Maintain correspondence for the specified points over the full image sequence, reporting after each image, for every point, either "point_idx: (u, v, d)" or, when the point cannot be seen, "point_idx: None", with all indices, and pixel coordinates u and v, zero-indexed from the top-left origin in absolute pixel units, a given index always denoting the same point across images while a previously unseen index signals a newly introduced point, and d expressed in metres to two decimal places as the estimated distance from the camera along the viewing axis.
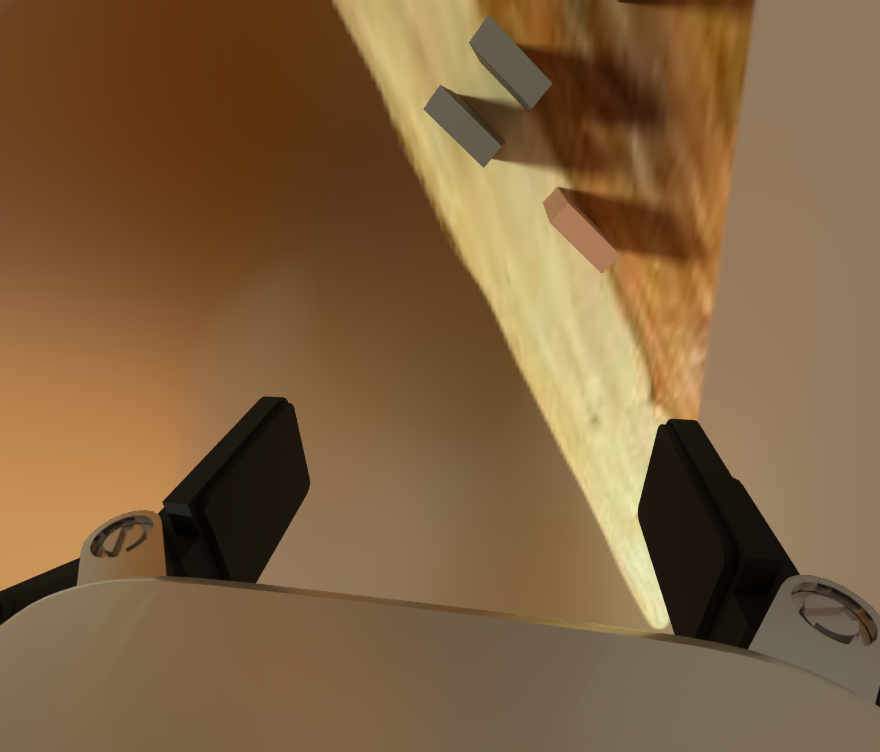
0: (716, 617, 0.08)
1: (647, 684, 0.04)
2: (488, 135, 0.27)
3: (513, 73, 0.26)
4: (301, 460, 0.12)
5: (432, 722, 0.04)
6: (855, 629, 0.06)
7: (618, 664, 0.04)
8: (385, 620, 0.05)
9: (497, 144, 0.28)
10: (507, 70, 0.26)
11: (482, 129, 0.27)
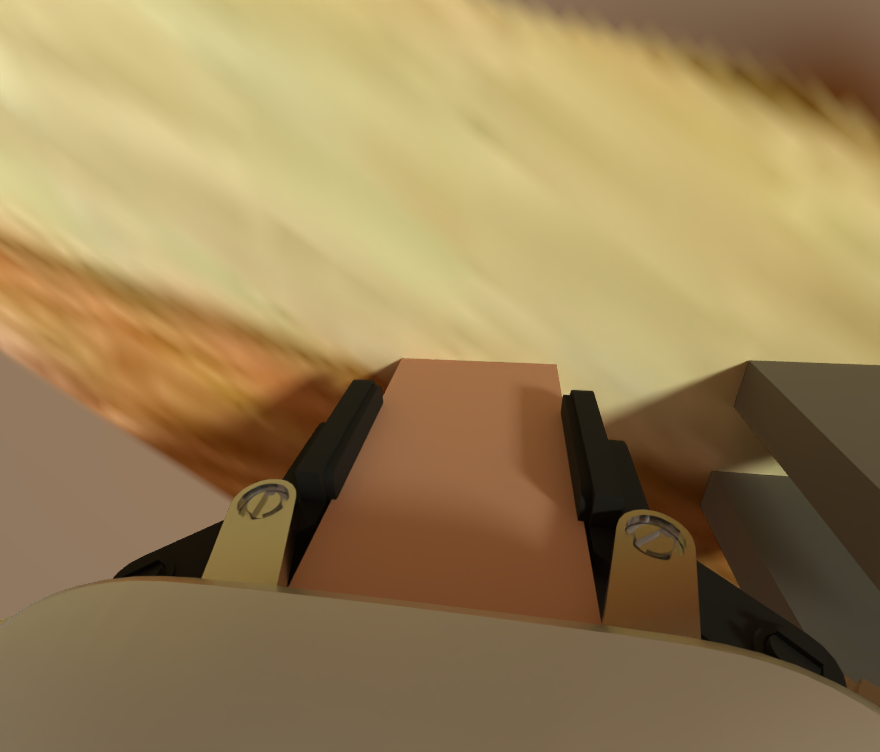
0: None
1: (647, 684, 0.04)
2: None
3: None
4: None
5: (432, 722, 0.04)
6: (671, 544, 0.07)
7: (618, 664, 0.04)
8: (385, 620, 0.05)
9: None
10: None
11: None
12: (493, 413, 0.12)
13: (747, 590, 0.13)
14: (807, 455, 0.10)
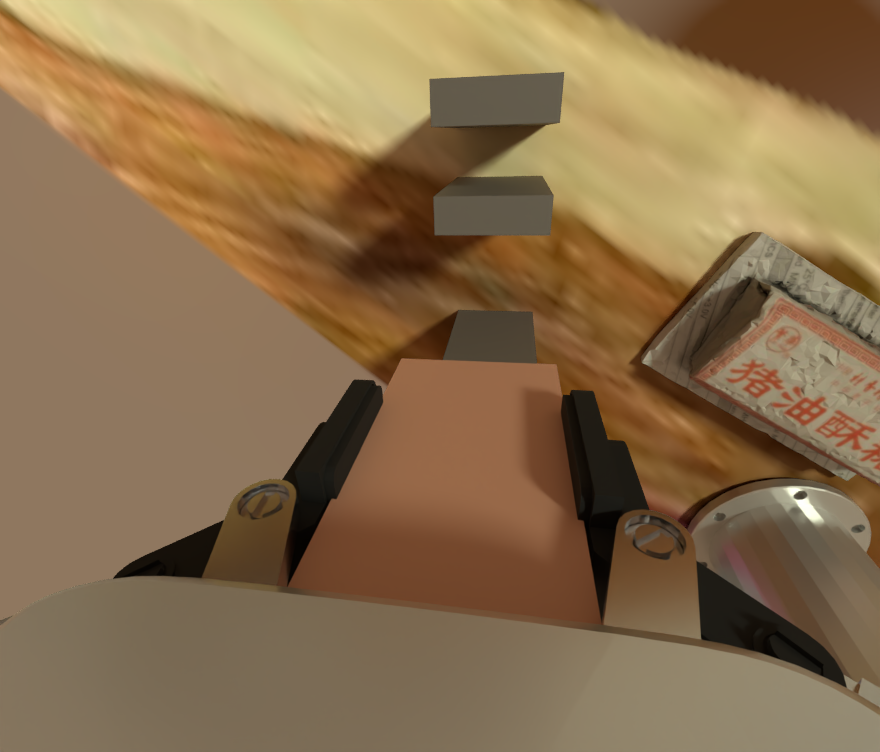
0: None
1: (647, 684, 0.04)
2: (456, 123, 0.18)
3: (481, 209, 0.19)
4: None
5: (432, 722, 0.04)
6: (672, 544, 0.07)
7: (618, 664, 0.04)
8: (385, 620, 0.05)
9: (437, 124, 0.18)
10: (490, 206, 0.19)
11: (468, 123, 0.18)
12: (493, 413, 0.12)
13: None
14: None
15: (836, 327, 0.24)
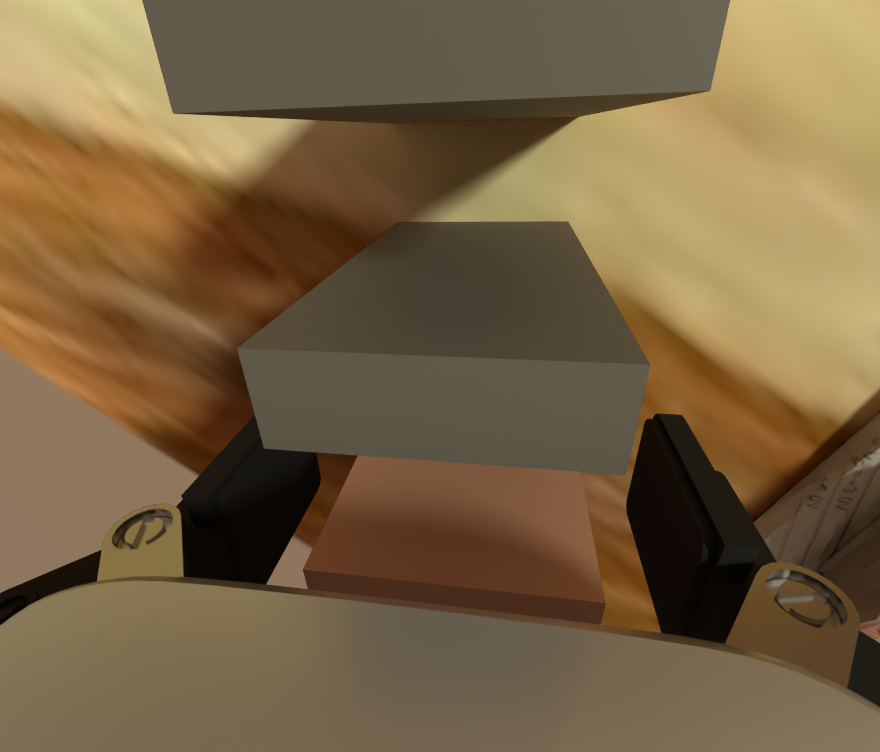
0: (696, 605, 0.08)
1: (647, 684, 0.04)
2: (265, 98, 0.04)
3: (396, 392, 0.06)
4: (312, 456, 0.12)
5: (432, 722, 0.04)
6: (828, 613, 0.06)
7: (618, 664, 0.04)
8: (385, 620, 0.05)
9: (194, 101, 0.04)
10: (424, 386, 0.06)
11: (315, 95, 0.04)
12: None
13: None
14: None
15: None
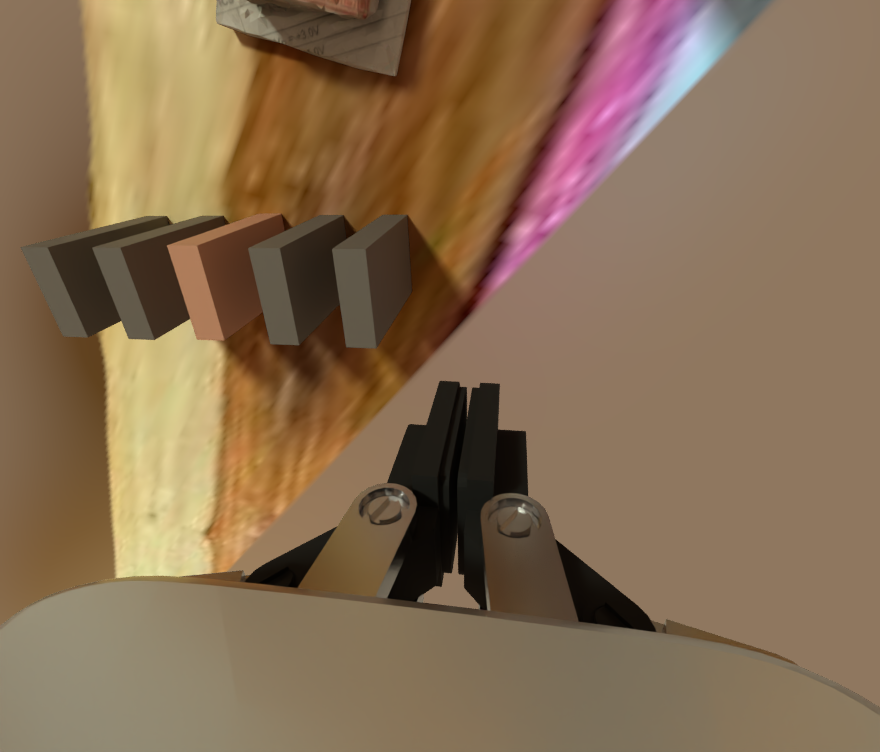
0: None
1: (647, 684, 0.04)
2: (78, 320, 0.25)
3: (123, 303, 0.24)
4: None
5: (432, 722, 0.04)
6: (529, 519, 0.08)
7: (618, 664, 0.04)
8: (385, 620, 0.05)
9: (84, 332, 0.25)
10: (118, 297, 0.24)
11: (75, 311, 0.24)
12: None
13: None
14: None
15: None
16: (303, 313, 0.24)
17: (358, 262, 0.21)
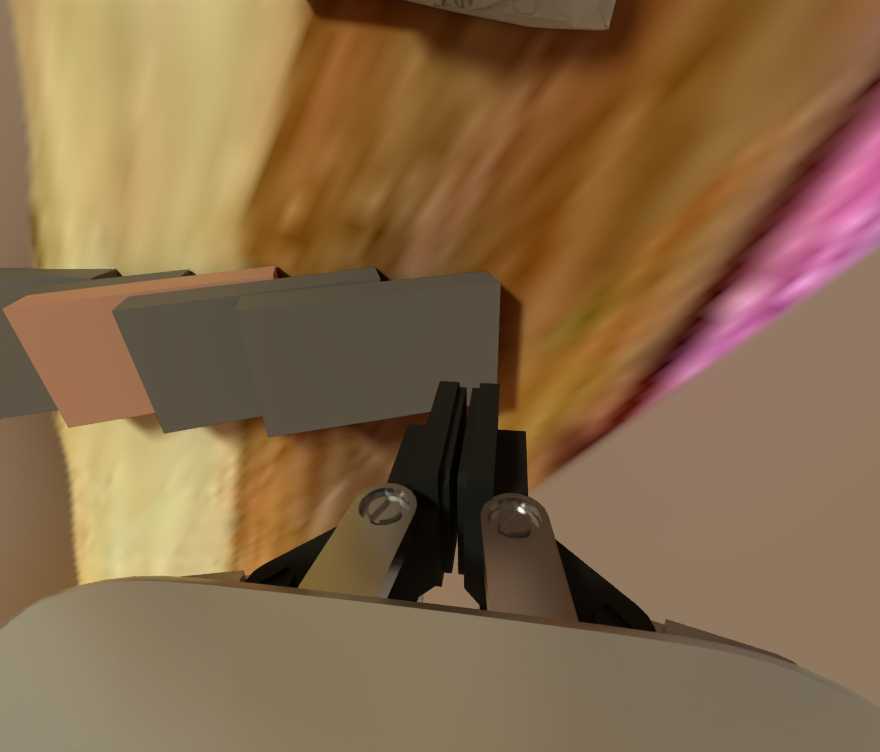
0: None
1: (647, 684, 0.04)
2: None
3: None
4: None
5: (432, 722, 0.04)
6: (529, 519, 0.08)
7: (618, 663, 0.04)
8: (385, 620, 0.05)
9: None
10: None
11: None
12: None
13: None
14: None
15: None
16: (185, 399, 0.17)
17: None
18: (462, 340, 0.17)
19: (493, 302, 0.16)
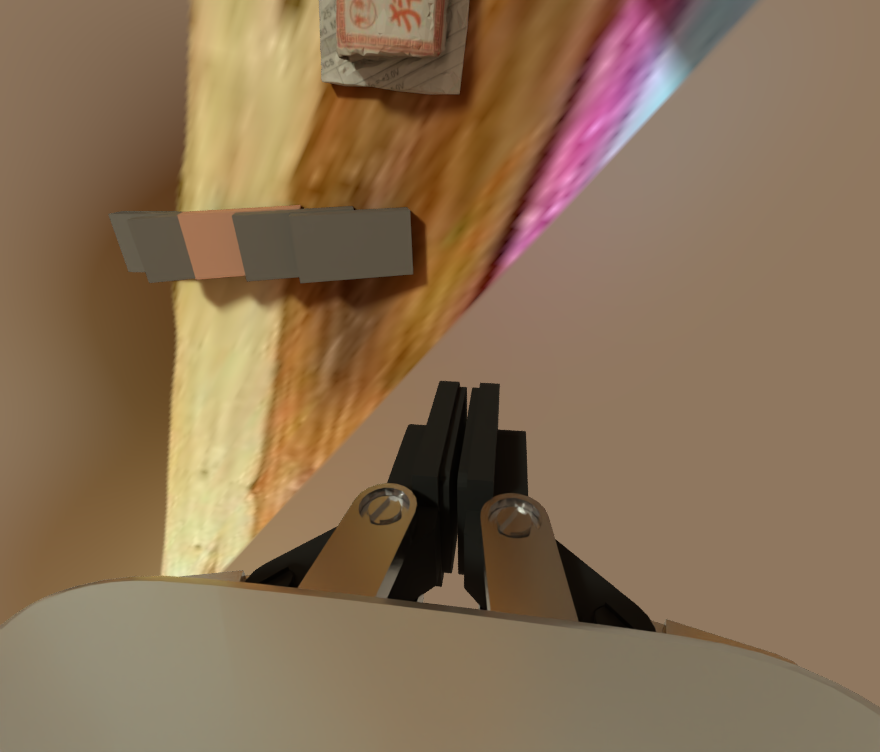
0: None
1: (647, 684, 0.04)
2: (125, 260, 0.40)
3: None
4: None
5: (432, 722, 0.04)
6: (529, 519, 0.08)
7: (618, 664, 0.04)
8: (385, 620, 0.05)
9: (128, 268, 0.41)
10: None
11: (123, 254, 0.40)
12: None
13: None
14: None
15: None
16: (258, 263, 0.35)
17: None
18: (393, 238, 0.35)
19: (407, 219, 0.35)
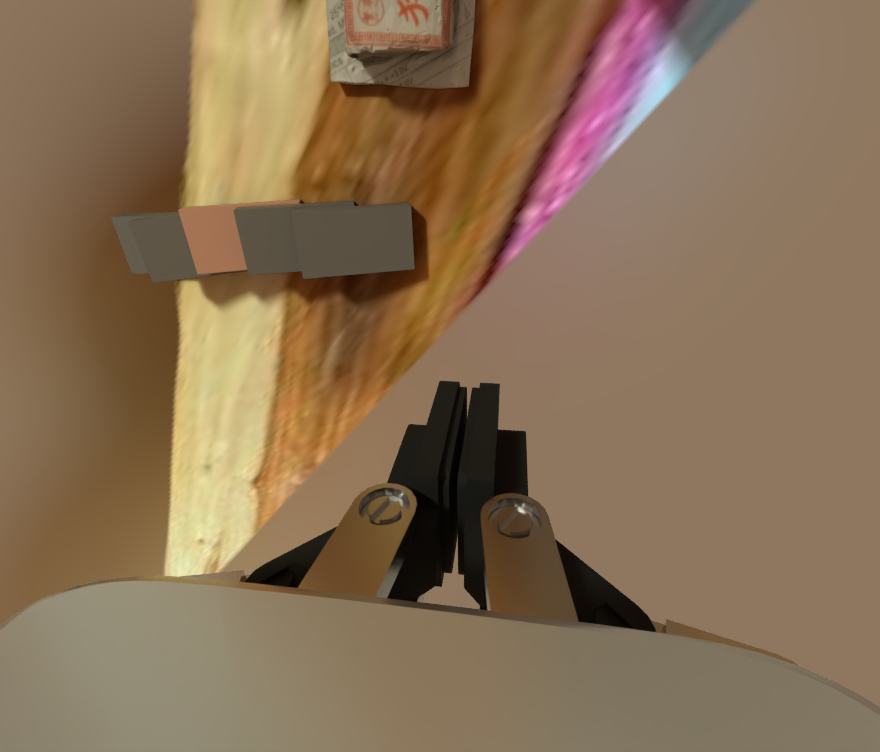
0: None
1: (647, 684, 0.04)
2: (128, 262, 0.41)
3: None
4: None
5: (432, 722, 0.04)
6: (529, 519, 0.08)
7: (618, 664, 0.04)
8: (385, 620, 0.05)
9: (132, 270, 0.41)
10: None
11: (126, 256, 0.41)
12: None
13: (219, 273, 0.39)
14: None
15: None
16: (260, 258, 0.36)
17: None
18: (394, 234, 0.35)
19: (408, 215, 0.35)
